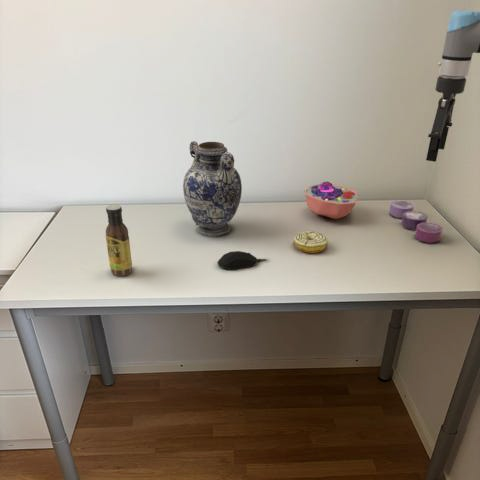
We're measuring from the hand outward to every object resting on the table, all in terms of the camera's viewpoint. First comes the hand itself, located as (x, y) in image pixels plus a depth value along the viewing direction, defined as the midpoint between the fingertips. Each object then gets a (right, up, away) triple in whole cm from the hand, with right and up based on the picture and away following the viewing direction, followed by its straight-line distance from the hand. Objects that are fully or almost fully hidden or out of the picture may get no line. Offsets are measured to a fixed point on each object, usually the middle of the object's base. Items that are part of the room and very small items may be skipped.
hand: (435, 154), depth 152 cm
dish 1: (-1, -12, +30) cm, 32 cm away
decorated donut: (-36, -26, +9) cm, 46 cm away
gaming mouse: (-57, -33, 0) cm, 66 cm away
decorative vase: (-67, -19, +19) cm, 72 cm away
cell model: (-26, -12, +29) cm, 41 cm away
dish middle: (+1, -17, +22) cm, 28 cm away
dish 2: (+3, -23, +14) cm, 27 cm away
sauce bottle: (-92, -36, -5) cm, 99 cm away
